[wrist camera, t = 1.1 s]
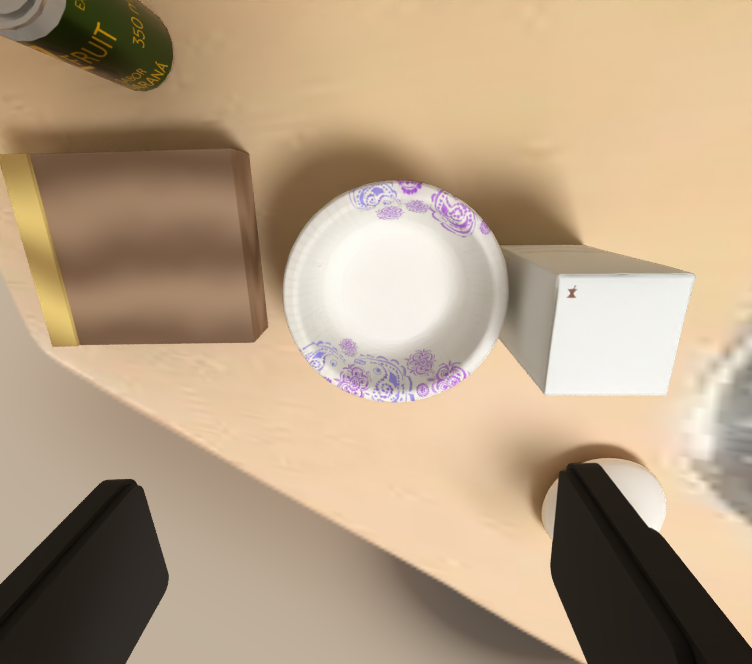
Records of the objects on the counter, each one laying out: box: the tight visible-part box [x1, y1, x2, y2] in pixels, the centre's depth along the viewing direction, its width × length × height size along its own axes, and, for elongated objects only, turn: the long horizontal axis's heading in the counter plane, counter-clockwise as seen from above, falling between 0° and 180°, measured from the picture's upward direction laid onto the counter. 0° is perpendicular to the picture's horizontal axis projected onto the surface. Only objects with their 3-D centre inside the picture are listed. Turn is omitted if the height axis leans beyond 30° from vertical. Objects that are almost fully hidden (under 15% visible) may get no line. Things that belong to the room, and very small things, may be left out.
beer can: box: [0, 0, 174, 91], centre depth 24 cm, size 5×5×12 cm
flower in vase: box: [542, 458, 666, 540], centre depth 29 cm, size 13×11×25 cm
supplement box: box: [498, 245, 695, 395], centre depth 29 cm, size 7×7×13 cm
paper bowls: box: [283, 180, 509, 402], centre depth 31 cm, size 15×15×8 cm
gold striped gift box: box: [0, 148, 268, 347], centre depth 32 cm, size 14×16×4 cm
